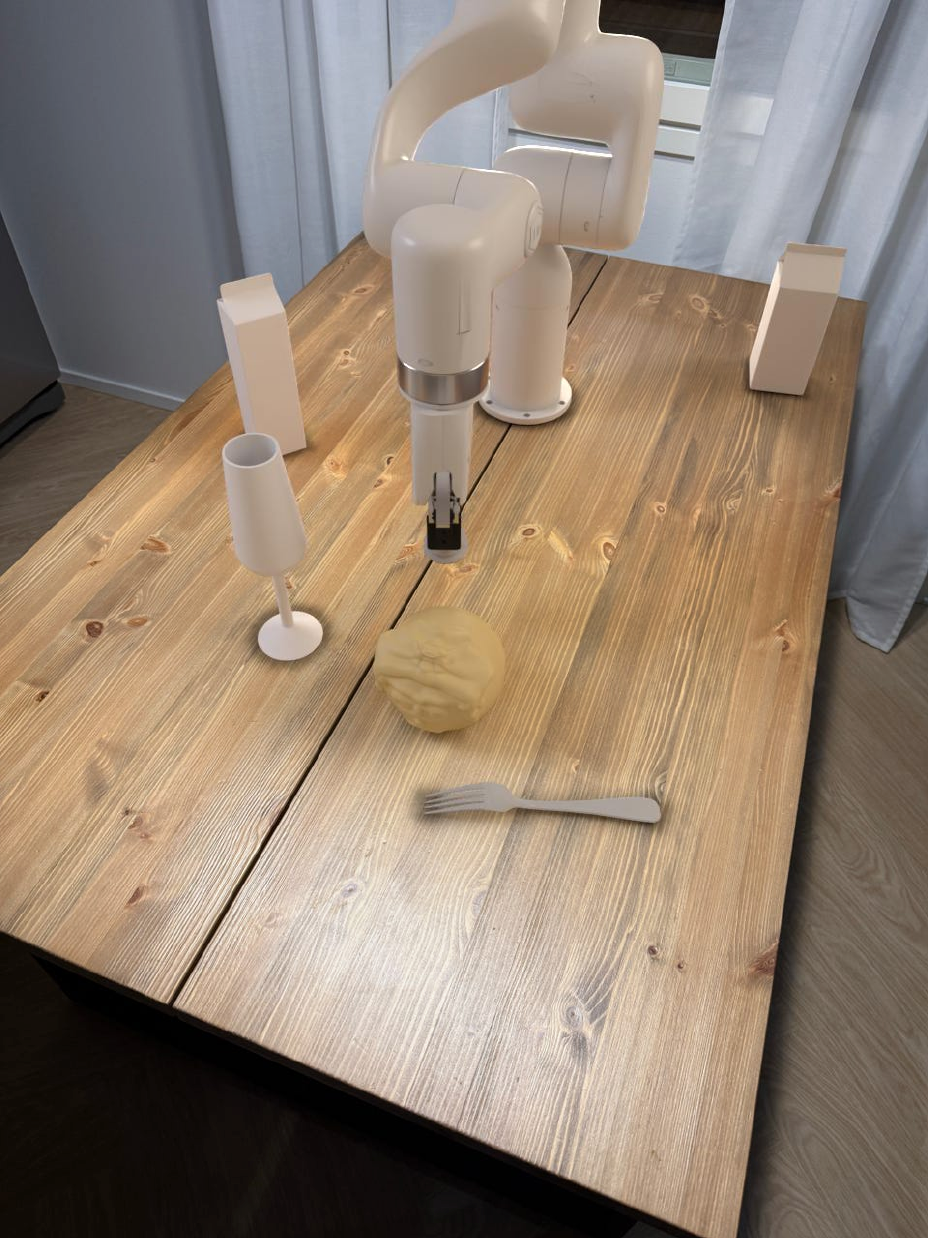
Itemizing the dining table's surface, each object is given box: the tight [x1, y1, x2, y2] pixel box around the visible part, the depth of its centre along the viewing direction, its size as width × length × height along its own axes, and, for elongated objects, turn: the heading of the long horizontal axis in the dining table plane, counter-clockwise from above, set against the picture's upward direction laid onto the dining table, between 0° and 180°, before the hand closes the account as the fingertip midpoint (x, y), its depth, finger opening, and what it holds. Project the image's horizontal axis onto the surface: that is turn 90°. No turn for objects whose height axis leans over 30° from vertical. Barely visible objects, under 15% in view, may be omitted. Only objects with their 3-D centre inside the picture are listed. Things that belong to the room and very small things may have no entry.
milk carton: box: [749, 241, 848, 396], centre depth 116 cm, size 7×7×19 cm
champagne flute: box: [221, 433, 324, 661], centre depth 83 cm, size 7×7×24 cm
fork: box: [423, 781, 662, 824], centre depth 79 cm, size 3×21×3 cm, turn 88°
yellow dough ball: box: [372, 605, 507, 734], centre depth 83 cm, size 12×12×11 cm
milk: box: [216, 272, 307, 456], centre depth 105 cm, size 6×6×22 cm
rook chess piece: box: [422, 502, 469, 565], centre depth 85 cm, size 4×4×8 cm
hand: (444, 531), depth 86 cm, fingers closed on rook chess piece, 3 cm apart
